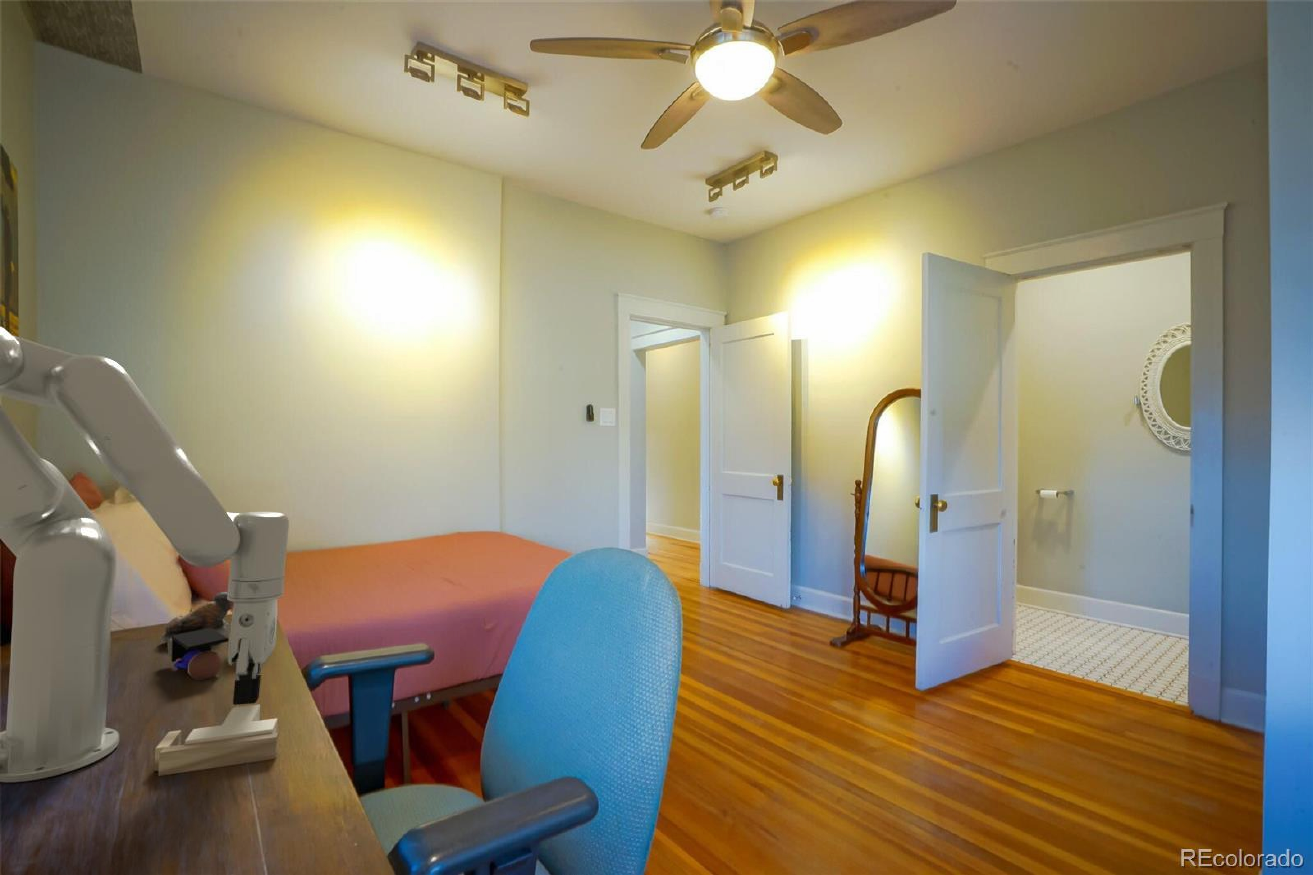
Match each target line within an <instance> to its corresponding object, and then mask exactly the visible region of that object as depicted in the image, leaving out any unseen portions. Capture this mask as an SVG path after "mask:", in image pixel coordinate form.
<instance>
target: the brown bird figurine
mask: <svg viewBox="0 0 1313 875" xmlns="http://www.w3.org/2000/svg"><path fill="white" fill-rule="evenodd" d="M227 596H228V591H222V592H221V591H220V592H219V591H218V592H217V593H216V596H215V597H214V598H213V599H212V601H207V602H205V603H203V604H201V605H200V606H198V607H197V608H195V609H194V610H191V611H190V612H187V614H185V615H184V616H183V615H182V614H179V615H176V616H175V617H174V618H171V620H170V621H169V622H168V623H167V624H166V626H165V630H164V633H163V634H162V635H161V639H162V641H163V642H166V643H168V640H169V639H171V638H172V636H173V635H178V634H183V633H188V632H192V631H197V630H202V629H207V628H212V629H213V630H215V631H217V632H219V633H220V634H222V635H224V636H226V635H227V634H228V632H229V628H230V624H229V622H227V621H226V620H225V617H226V615H227V614H228V612H229V611H230V610H231V609H232V607H233V606H232V603H233V602H232V601H229V600H228V599H227Z"/></svg>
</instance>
